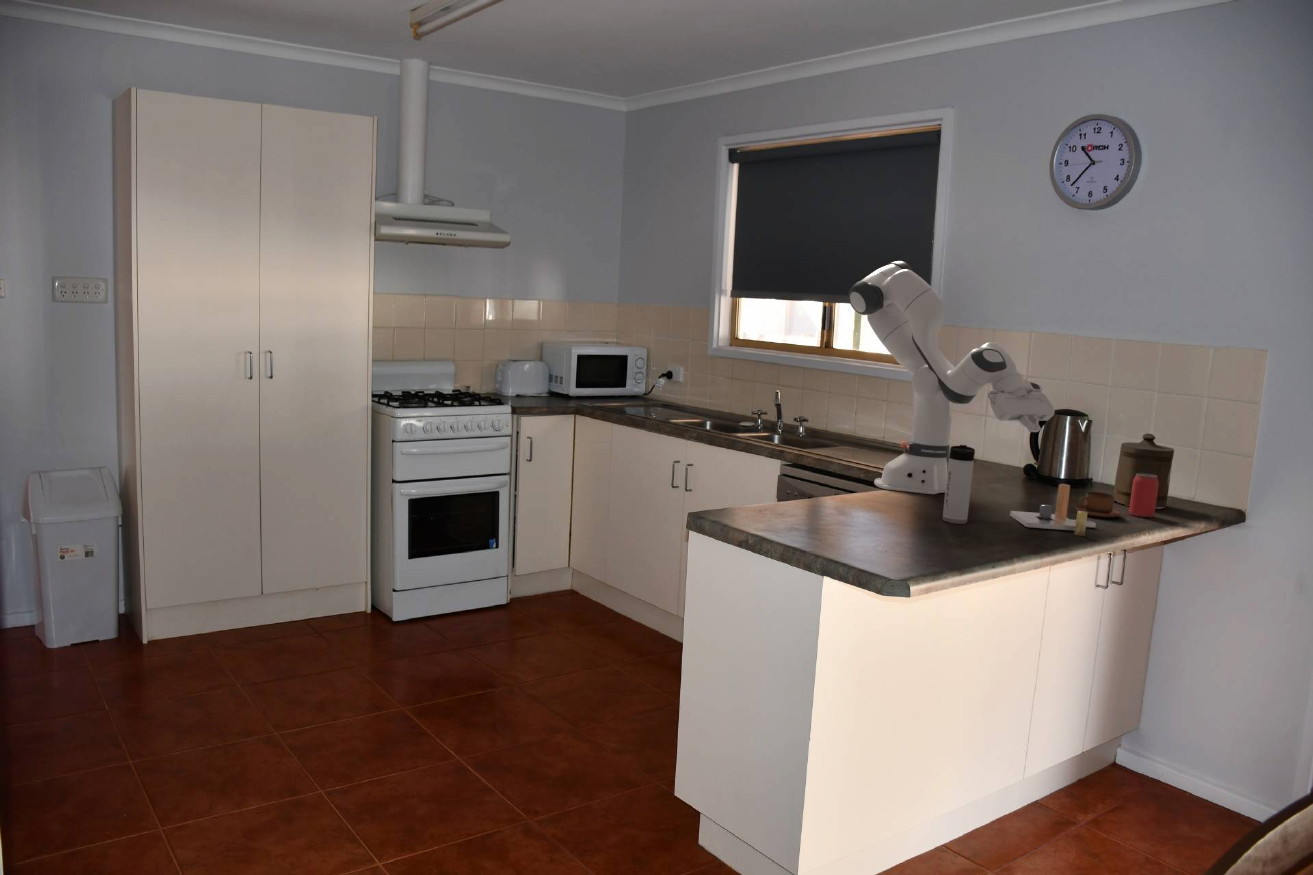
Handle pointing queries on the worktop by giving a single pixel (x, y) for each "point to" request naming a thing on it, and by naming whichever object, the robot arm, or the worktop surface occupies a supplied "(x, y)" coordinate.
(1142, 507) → the beer can
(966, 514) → the travel mug
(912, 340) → the robot arm
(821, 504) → the worktop surface
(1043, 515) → the grey rectangular block
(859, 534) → the worktop surface
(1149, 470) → the wooden container
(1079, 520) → the brass dowel
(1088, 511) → the cup and saucer
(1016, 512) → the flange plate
